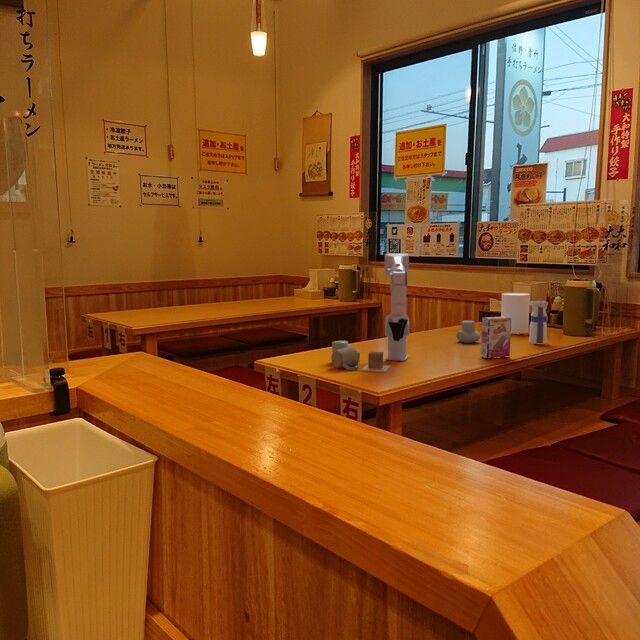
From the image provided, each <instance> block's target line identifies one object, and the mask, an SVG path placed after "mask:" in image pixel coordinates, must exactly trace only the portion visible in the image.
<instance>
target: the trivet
mask: <svg viewBox="0 0 640 640" xmlns="http://www.w3.org/2000/svg"><path fill="white" fill-rule="evenodd" d="M390 368H391V365H386V364H385V365H384V364H383V367H382V368H381V369H372V368H368V363H367V364H366V365H364V367H363V368H361V372H377V373H386V372H388V370H389V369H390Z"/></svg>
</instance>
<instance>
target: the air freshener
mask: <svg viewBox="0 0 640 640" xmlns="http://www.w3.org/2000/svg"><path fill="white" fill-rule="evenodd" d="M455 336H456V337H455V338H456V339H457V341H459V342H461V343H462V342H464V343H463V344H474V343H473V342H475V343H476V342H478V341H479V340H481V339H480V338H481V334H480V332H478V331H477V330H476V321H474V320H462V321H461V330H459V331H457V332H456V334H455Z"/></svg>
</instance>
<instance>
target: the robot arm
mask: <svg viewBox="0 0 640 640" xmlns="http://www.w3.org/2000/svg"><path fill="white" fill-rule="evenodd" d="M409 263H410V257H409V254H408V253H386V252H385V254H384V273H385V276H386V277H389V286H390V313H389V314H387V315H386V317H385V318H384V335H385V336H386V337H387V357H386V358H384V359H385V361H400V362H401V361H402V362H405V361H406V360H407V359H408V358H409V356H410V355H408V354H407V337H409V335H410V327H411V325H410V318H409V315H407V287H408V282H409V281H408V279H409V278H408V276H409V275H408V273H409V266H410V265H409Z"/></svg>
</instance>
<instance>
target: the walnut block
mask: <svg viewBox="0 0 640 640" xmlns="http://www.w3.org/2000/svg"><path fill="white" fill-rule="evenodd" d="M367 355H368V356H367V357H368V360H367V361H368V363H367V364H368V368H372V369H381V368H382V367H383V365H384V351H369V352H368V354H367Z"/></svg>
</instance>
